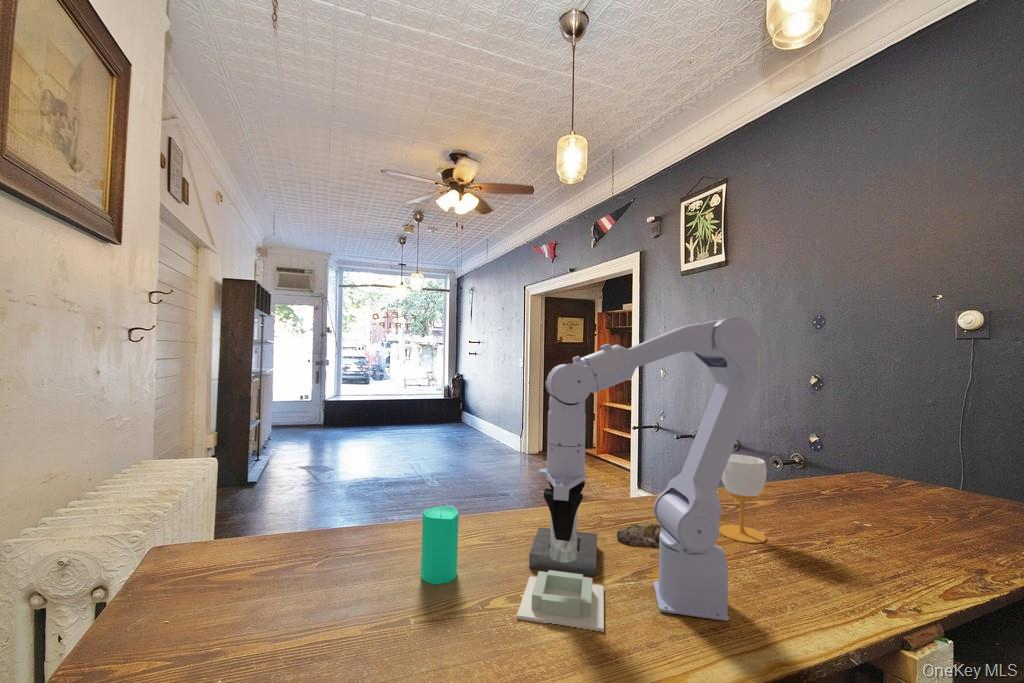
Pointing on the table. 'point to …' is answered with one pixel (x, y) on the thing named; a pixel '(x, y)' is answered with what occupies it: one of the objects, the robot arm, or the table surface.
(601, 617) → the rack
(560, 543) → the smooth metal cylinder
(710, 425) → the robot arm
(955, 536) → the table surface
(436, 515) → the candle
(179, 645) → the table surface
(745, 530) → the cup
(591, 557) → the socket block
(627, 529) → the mineral rock
